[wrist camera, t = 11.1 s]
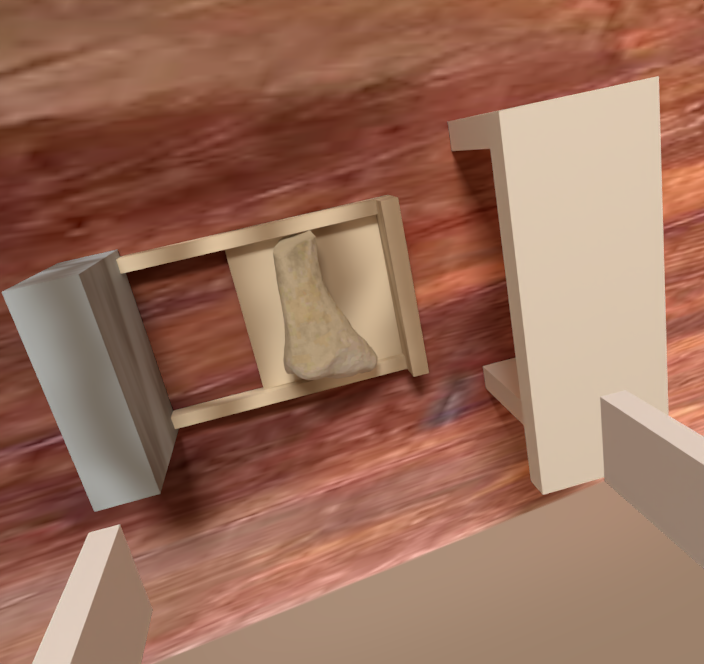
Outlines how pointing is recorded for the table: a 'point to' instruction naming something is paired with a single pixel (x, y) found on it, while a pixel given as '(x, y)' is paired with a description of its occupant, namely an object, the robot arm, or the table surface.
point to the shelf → (577, 266)
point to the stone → (315, 317)
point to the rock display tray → (260, 318)
